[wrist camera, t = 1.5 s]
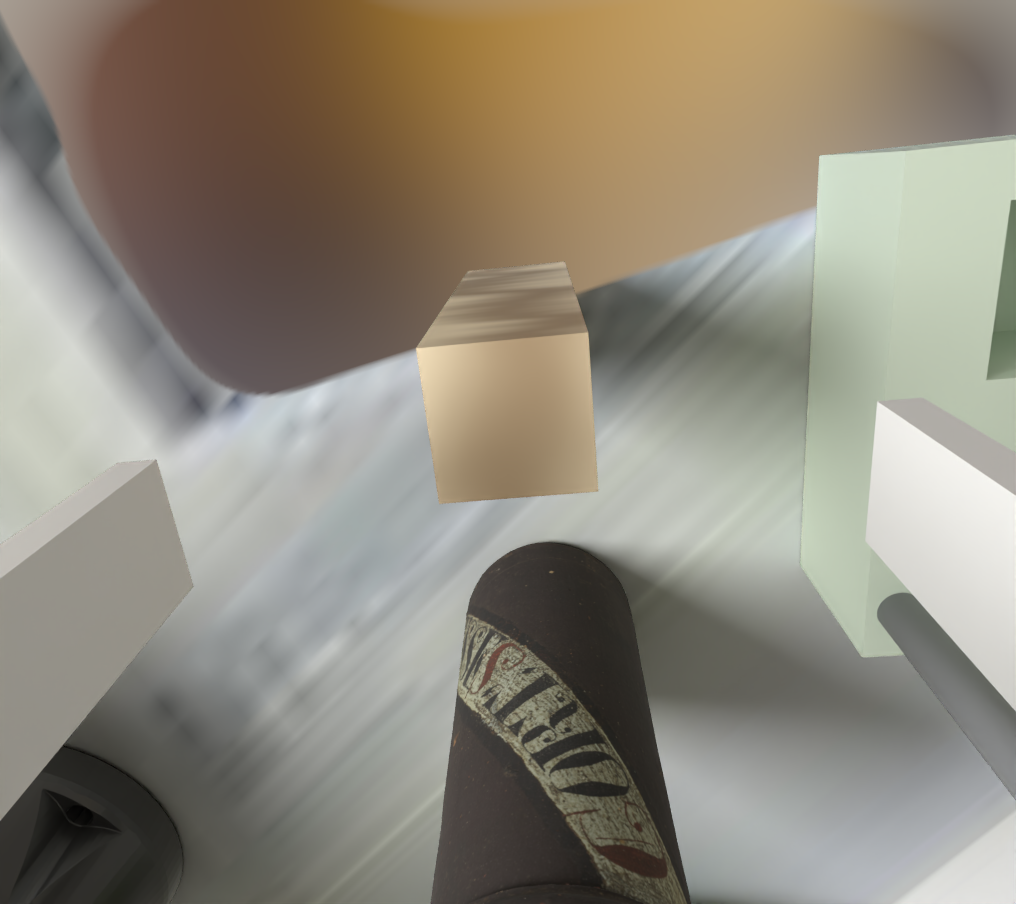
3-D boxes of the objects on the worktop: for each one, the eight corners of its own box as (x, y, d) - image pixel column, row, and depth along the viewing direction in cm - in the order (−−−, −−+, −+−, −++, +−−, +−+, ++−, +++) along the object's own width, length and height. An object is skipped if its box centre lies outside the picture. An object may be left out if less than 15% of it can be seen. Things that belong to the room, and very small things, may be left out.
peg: (479, 365, 31) (439, 503, 18) (467, 271, 30) (415, 348, 17) (571, 356, 31) (598, 491, 18) (564, 261, 30) (588, 332, 17)
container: (610, 516, 34) (704, 942, 15) (657, 669, 37) (783, 1182, 18) (436, 563, 35) (323, 1011, 16) (495, 708, 38) (456, 1226, 19)
